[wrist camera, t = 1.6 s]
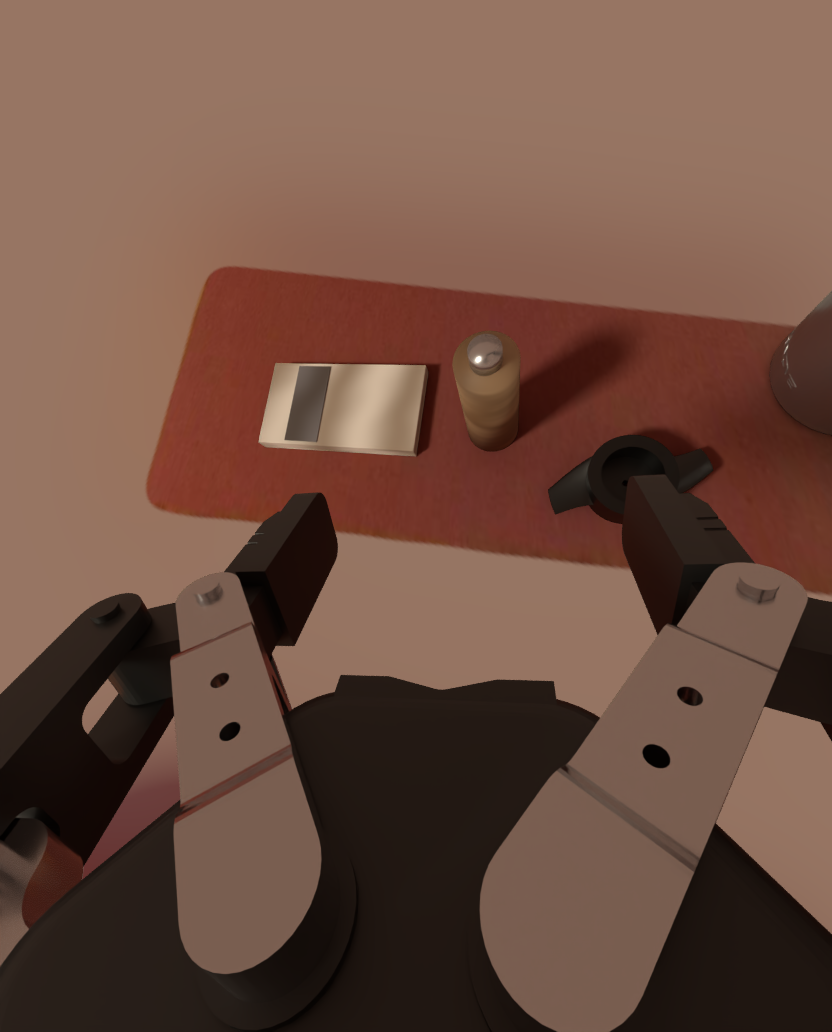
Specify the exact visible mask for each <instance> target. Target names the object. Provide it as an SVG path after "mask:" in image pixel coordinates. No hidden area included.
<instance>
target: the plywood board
mask: <svg viewBox="0 0 832 1032" xmlns="http://www.w3.org/2000/svg"><path fill="white" fill-rule="evenodd" d="M427 379H428V370H427V367H426V365H367V364H292V363H276V364H275V368H274V373H273V378H272V382H271V387H270V391H269V396H268V400H267V405H266V410H265V414H264V419H263V423H262V428H261V432H260V437H259V443H261V444H262V445H264V446H265V447H274V448H290V449H306V450H322V451H338V452H355V453H371V454H387V455H403V456H416V455H417V448H418V441H419V434H420V428H421V421H422V414H423V407H424V400H425V393H426V386H427Z"/></svg>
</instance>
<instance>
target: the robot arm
mask: <svg viewBox="0 0 832 1032" xmlns="http://www.w3.org/2000/svg"><path fill="white" fill-rule="evenodd" d="M769 375H770V382H771V387H772V390H773V392H774V394H775V397H776V399H777V400H778V402H779V403H780V404H781V406H782V407H783V409H784V410H785V411H786V412H787V413H789V414H790V415H791V416H792V417H793V418H794V419H795V420H797V421H799V422H800V423H802V424H804V425H805V426H807V427H809V428H811V429H814V430H816V431H819V432H822V433H824V434H829V435H832V291H831V292H830V293H829V294H828V295H827V296H826V297H825V298H824V299H823V301H821V302H820V303H819V304H818V305H817V307H815V309H814V310H813V311H812V312H811V313H810V314H809V315H808V316H807V317H806V318H805V319H804V320H803V321H802V322H801V323H800V324H799V325H798V326H797V327H796V328H795V329H794V330H793V331H792V332H791V333H790V334H789V335H788V336H787V337H786V338H785V339H784V341H783V342H782V343H781V344H780V346H779V347H778V349H777V350H776V351H775V354H774V356H773V359H772V361H771V366H770V374H769ZM622 544H623V550H624V554H625V556H626V559H627V561H628V564H629V566H630V569H631V571H632V573H633V576H634V578H635V581H636V583H637V586H638V588H639V591H640V593H641V595H642V598H643V600H644V603H645V605H646V608H647V610H648V613H649V614H650V618H651V620H652V622H653V625H654V627H655V629H656V632H657V635H658V636H657V637H656V639H655V640H654V642H653V643H652V645H651V646H650V647H649V649H648V651H647V652H646V653H645V655H644V656H643V657H642V659H641V660H640V662H639V663H638V665H637V666H636V667H635V669H634V670H633V672H632V673H631V675H630V676H629V678H628V679H627V680H626V682H625V683H624V685H623V686H622V688H621V689H620V690H619V692H618V693H617V695H616V696H615V698H614V699H613V701H612V702H611V703H610V705H609V706H608V708H607V709H606V711H605V712H604V713H603V715H602V716H601V718H600V717H598V716H596V715H595V714H593V713H591V712H589V711H587V710H585V709H583V708H581V707H579V706H576V705H573V704H570V703H568V702H565V701H561V700H558V699H556V695H555V687H554V682H553V681H527V680H493V681H488V682H483V683H477V684H472V685H467V686H462V687H456V688H451V689H446V690H438V689H433V688H430V687H426V686H422V685H419V684H415V683H411V682H407V681H404V680H400V679H397V678H393V677H389V676H355V675H341V676H340V679H339V682H338V684H337V687H336V690H335V692H333V693H328V694H325V695H322V696H319V697H316V698H314V699H311V700H309V701H307V702H305V703H303V704H301V705H299V706H297V707H296V708H294V709H292V707H291V704H290V701H289V699H288V696H287V693H286V690H285V688H284V685H283V682H282V679H281V676H280V674H279V671H278V668H277V665H276V662H275V660H274V658H273V655H272V652H273V650H274V648H275V646H295V644H296V642H297V640H298V638H299V636H300V633H301V631H302V629H303V627H304V625H305V623H306V621H307V619H308V617H309V615H310V613H311V611H312V608H313V606H314V604H315V602H316V600H317V598H318V596H319V594H320V592H321V590H322V588H323V586H324V584H325V581H326V579H327V577H328V575H329V573H330V571H331V569H332V566H333V565H334V563H335V560H336V557H337V552H338V543H337V537H336V534H335V530H334V527H333V523H332V519H331V516H330V512H329V509H328V505H327V501H326V499H325V497H324V495H323V494H322V493H304V494H294V495H293V496H292V498H291V499H290V500H289V501H288V503H287V504H286V505H285V507H284V508H283V509H282V511H281V512H277V513H276V514H274V515H273V516H271V517H270V518H269V519H267V520H266V521H264V522H263V523H262V525H261V526H260V527H259V528H258V530H257V531H256V532H255V535H253V536H252V537H251V539H250V540H249V541H248V545H245V546H244V547H243V549H242V550H241V551H240V553H239V554H238V555H237V556H236V558H235V559H234V560H233V561H232V563H231V564H230V565H229V566H228V568H227V569H226V570H225V571H224V572H221V573H215V574H210V575H207V576H204V577H202V578H200V579H198V580H196V581H194V582H193V583H191V584H190V585H188V586H187V587H186V588H185V589H184V590H183V591H182V592H181V593H180V594H179V596H178V598H177V600H176V603H172V604H167V605H163V606H159V607H154V608H150V609H147V608H146V606H145V604H144V603H143V601H142V600H141V598H140V597H139V596H138V595H136V594H133V593H125V594H119V595H115V596H112V597H109V598H107V599H104V600H102V601H100V602H98V603H96V604H95V605H93V606H91V607H90V608H89V609H87V610H86V611H84V612H83V613H82V614H81V615H80V616H79V617H78V618H77V619H76V620H75V621H74V622H73V623H72V624H71V625H70V626H69V627H68V628H67V629H66V630H65V631H64V632H63V633H62V634H61V635H60V636H59V637H58V638H57V639H56V640H55V641H54V642H53V643H52V644H51V645H50V646H49V647H48V648H47V649H46V650H45V651H44V652H43V653H42V654H41V655H40V656H39V657H38V658H37V659H36V660H35V661H34V662H33V663H32V664H31V665H30V666H29V667H28V668H26V670H25V671H24V672H22V673H21V674H20V675H19V676H18V678H16V679H15V680H14V681H13V683H11V684H10V685H9V686H8V687H7V688H6V689H5V690H4V691H3V692H2V693H1V694H0V1032H832V934H831V933H830V932H829V931H828V930H827V929H826V928H825V927H823V926H822V925H821V924H820V923H819V922H818V921H817V920H816V919H815V918H814V917H813V916H812V915H811V914H810V913H809V912H808V911H807V910H806V909H804V907H803V906H802V905H800V904H799V903H798V902H797V901H796V900H795V899H794V898H793V897H792V896H791V895H790V894H789V893H788V892H787V891H786V890H785V889H784V888H783V887H782V886H781V885H780V884H778V883H777V881H775V880H774V879H773V878H772V877H771V876H770V875H769V874H768V873H767V872H766V871H765V870H764V869H763V868H762V867H761V866H760V865H759V864H758V863H757V862H756V861H755V860H754V859H752V858H751V857H750V856H749V855H748V854H747V853H746V852H745V851H744V850H743V849H742V848H741V847H740V846H739V845H738V844H737V843H736V842H735V841H734V840H733V839H731V837H730V836H728V835H727V834H726V833H725V832H724V831H723V830H722V829H721V828H720V827H719V826H718V825H717V824H716V821H717V819H718V816H719V814H720V812H721V809H722V807H723V804H724V801H725V799H726V797H727V795H728V792H729V790H730V787H731V785H732V782H733V780H734V778H735V775H736V773H737V770H738V768H739V765H740V763H741V761H742V758H743V756H744V754H745V751H746V749H747V746H748V744H749V742H750V739H751V737H752V734H753V732H754V729H755V727H756V725H757V722H758V720H759V718H760V715H761V713H762V710H763V708H764V707H768V708H772V709H775V710H779V711H782V712H786V713H790V714H793V715H797V716H800V717H804V718H808V719H811V720H815V721H819V722H821V724H822V726H823V727H824V729H825V731H826V732H827V734H828V736H829V737H830V739H831V741H832V602H828V601H823V600H818V599H813V598H809V597H807V593H806V591H805V589H804V588H803V587H802V585H801V584H799V583H798V582H797V581H796V580H795V579H793V578H792V577H790V576H789V575H787V574H785V573H783V572H781V571H779V570H776V569H774V568H771V567H768V566H764V565H760V564H755V563H754V561H753V560H752V559H751V558H750V556H749V555H748V554H747V553H746V551H745V550H744V549H743V547H742V546H741V545H740V544H739V542H738V541H737V540H736V539H735V537H734V536H733V535H732V534H731V532H730V531H729V530H727V527H726V526H725V525H724V523H723V522H722V521H721V520H720V519H718V516H717V515H716V513H715V512H714V511H713V510H712V508H711V507H710V506H709V504H707V503H706V502H704V501H702V500H701V499H699V498H697V497H695V496H694V495H692V494H690V493H681V494H679V493H678V492H677V490H676V489H675V488H674V486H673V485H672V483H671V482H670V481H669V479H668V478H667V476H666V475H664V474H661V475H643V476H631V477H630V478H629V480H628V484H627V492H626V500H625V509H624V517H623V526H622ZM107 679H109V681H110V682H111V684H112V685H113V686H114V687H115V689H116V690H117V692H118V693H119V694H118V695H117V697H116V698H115V699H114V700H113V702H112V703H111V704H110V706H109V707H108V708H107V710H106V711H105V712H104V714H103V715H102V716H101V718H100V719H99V720H98V722H97V723H96V725H95V726H94V727H93V728H92V730H91V731H90V732H89V734H87V733H86V732H85V730H84V729H83V726H82V715H83V712H84V709H85V707H86V705H87V704H88V702H89V701H90V700H91V698H92V697H93V696H94V695H95V693H96V692H97V691H98V690H99V688H100V687H101V686H102V685H103V684H104V682H105V681H106V680H107ZM173 716H174V717H175V732H176V745H177V758H178V770H179V771H178V772H179V785H180V798H181V799H180V800H179V801H178V802H177V803H175V804H174V805H173V806H172V807H171V808H170V809H168V810H167V811H166V812H164V813H163V814H162V815H161V816H160V817H158V818H157V819H156V820H155V821H153V822H152V823H151V824H150V825H149V826H147V827H146V828H145V829H144V830H143V831H141V832H140V833H139V834H138V835H136V836H135V837H134V838H133V839H132V840H130V841H129V842H128V843H127V844H125V845H124V846H123V847H122V848H121V849H119V850H118V851H117V852H116V853H115V854H113V855H112V856H111V857H110V858H108V859H107V860H106V861H105V862H104V863H102V864H101V865H100V866H99V867H97V868H96V869H95V870H94V871H92V872H91V873H90V874H89V875H88V876H86V877H85V878H84V879H83V880H82V876H83V867H84V865H85V863H86V862H87V860H88V858H89V857H90V855H91V853H92V851H93V850H94V848H95V847H96V845H97V843H98V842H99V840H100V838H101V837H102V835H103V833H104V832H105V830H106V828H107V827H108V825H109V823H110V822H111V820H112V818H113V817H114V815H115V813H116V811H117V810H118V808H119V807H120V805H121V803H122V802H123V800H124V798H125V796H126V795H127V793H128V791H129V790H130V788H131V787H132V785H133V783H134V782H135V780H136V778H137V777H138V775H139V773H140V772H141V770H142V768H143V767H144V765H145V763H146V762H147V760H148V758H149V757H150V755H151V753H152V752H153V750H154V748H155V746H156V745H157V743H158V741H159V740H160V738H161V736H162V735H163V733H164V731H165V730H166V728H167V727H168V725H169V723H170V722H171V719H172V718H173Z"/></svg>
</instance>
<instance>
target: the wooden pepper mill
mask: <svg viewBox="0 0 832 1032" xmlns="http://www.w3.org/2000/svg"><path fill="white" fill-rule="evenodd" d="M453 371H454V375H455V379H456V383H457V388H458V392H459V396H460V400H461V404H462V408H463V412H464V417H465V421H466V425H467V429H468V433H469V437H470V439H471V441H472V442H473V444H474V445H475V446H477V447H478V448H480V449H482V450H485V451H499V450H502V449H504V448H506V447H508V446H509V445H510V444H511V443H512V442H513V441H514V439H515V438H516V436H517V433H518V419H519V386H520V352H519V349H518V347H517V345H516V343H515V342H514V341H513V340H512V339H511V338H510V337H509V336H507V335H505V334H503V333H500V332H496V331H483V332H479V333H476V334H473V335H471V336H469V337H468V338H466V339H465V340H464V341H463V342H462V343H461V344H460V345H459V346H458V348H457V350H456V352H455V354H454V357H453Z"/></svg>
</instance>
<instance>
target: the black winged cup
mask: <svg viewBox="0 0 832 1032" xmlns="http://www.w3.org/2000/svg"><path fill="white" fill-rule="evenodd" d="M712 471H713V467H712V465H711V462H710V460H709V459H708V457H707V455H706V454H705V453H704V452H703V450H701V449H698V450H695V451H692V452H689V453H686V454H682V455H679V456H673V455H672V453H671V452H670V451H669V450H668V449H667V448H666V447H665V446H664V445H662V444H661V443H659V442H658V441H656V440H654V439H651V438H648V437H645V436H640V435H625V436H620V437H616V438H614V439H611V440H609V441H608V442H606V443H604V444H603V445H602V446H601V447H600V448H599V449H598V450H597V451H596V452H595V454H594V455H593V456H592V457H590V458H588V459H587V460H585V461H584V462H582V463H581V464H579V465H578V466H576V467H575V468H574V469H572V470H571V471H570V472H569V473H567V474H566V475H565V476H564V477H562V478H561V479H560V480H559V481H558V482H557V483H555V484H554V485H553V486H552V487H551V488H550V489H548V493H549V498H550V502H551V505H552V508H553V510H554V513H555V515H556V514H558V513H561V512H564V511H566V510H569V509H573V508H576V507H581V506H586V505H589V506H590V508H591V509H592V510H593V511H594V512H595V513H596V514H597V515H599V516H600V517H602V518H604V519H606V520H608V521H611V522H614V523H619V524H623V517H624V509H625V500H626V492H627V486H624V485H623V484H622V483H626V484H628V480H629V478H630V477H631V476H643V475H661V474H664V475H666V476H667V478H668V479H669V481H670V482H671V483H672V485H673V486H674V488H675V489H676V490H677V492H678V493H679V494H681V493H683V492H685V491H687V490H688V489H690V488H692V487H693V486H694V485H696V484H697V483H698V482H700V481H701V480H702V479H703V478H705V477H706V476H707V475H708V474H710V473H711V472H712Z"/></svg>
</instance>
